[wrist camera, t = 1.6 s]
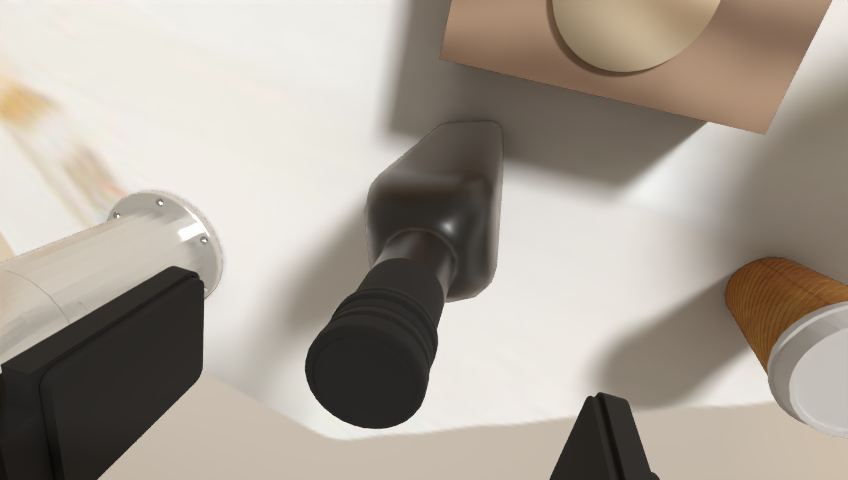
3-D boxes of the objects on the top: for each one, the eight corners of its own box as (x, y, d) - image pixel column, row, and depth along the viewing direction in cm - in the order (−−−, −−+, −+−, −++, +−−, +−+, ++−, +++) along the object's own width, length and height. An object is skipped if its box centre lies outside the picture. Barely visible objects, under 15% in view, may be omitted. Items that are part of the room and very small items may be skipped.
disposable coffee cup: (812, 345, 39) (932, 456, 28) (692, 334, 40) (761, 434, 29) (850, 242, 35) (1003, 321, 24) (718, 234, 37) (806, 305, 26)
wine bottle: (437, 188, 40) (273, 463, 12) (434, 122, 38) (228, 271, 10) (503, 187, 39) (485, 484, 11) (502, 119, 37) (480, 275, 9)
